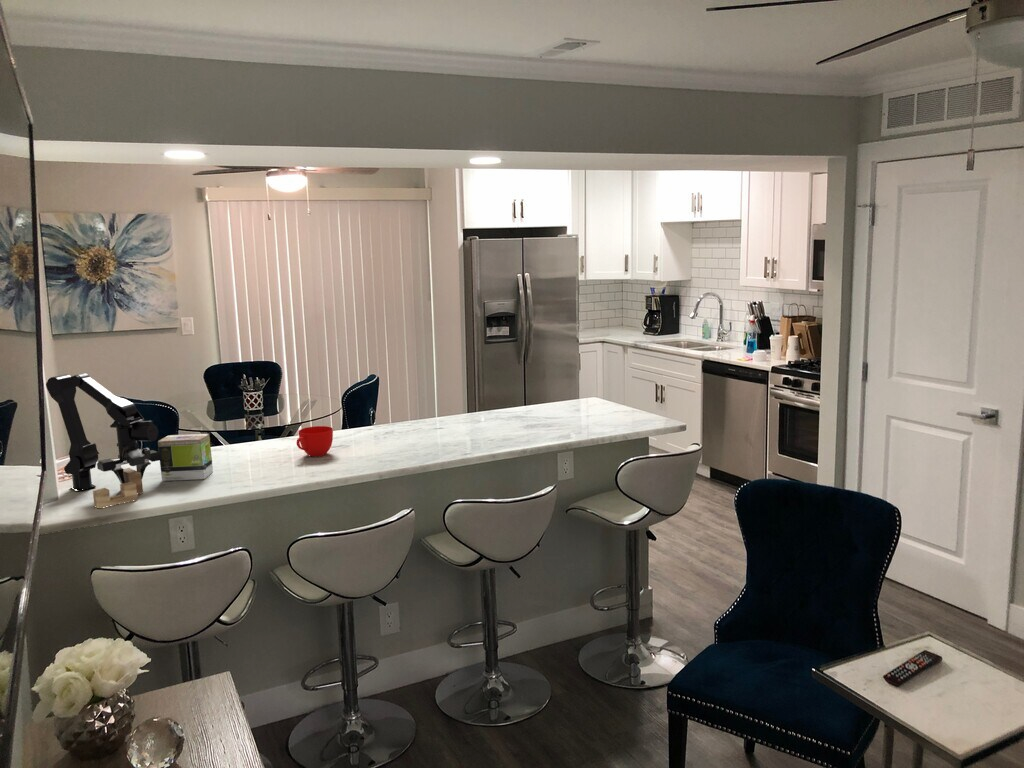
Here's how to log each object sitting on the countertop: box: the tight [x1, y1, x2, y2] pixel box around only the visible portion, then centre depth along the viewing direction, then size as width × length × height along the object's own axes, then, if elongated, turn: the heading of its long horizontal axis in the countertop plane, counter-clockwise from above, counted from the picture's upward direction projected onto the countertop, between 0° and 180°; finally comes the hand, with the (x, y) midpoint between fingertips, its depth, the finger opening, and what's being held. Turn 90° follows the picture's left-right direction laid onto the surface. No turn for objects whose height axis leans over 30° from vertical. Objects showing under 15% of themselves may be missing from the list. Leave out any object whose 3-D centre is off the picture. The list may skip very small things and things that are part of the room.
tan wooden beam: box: [123, 467, 144, 494], centre depth 271 cm, size 10×3×7 cm, turn 46°
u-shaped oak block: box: [92, 482, 139, 509], centre depth 258 cm, size 4×12×6 cm, turn 136°
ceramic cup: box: [296, 425, 334, 457], centre depth 311 cm, size 13×17×10 cm
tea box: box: [157, 433, 214, 482], centre depth 286 cm, size 15×10×15 cm
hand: (132, 485), depth 271 cm, fingers open, 5 cm apart
